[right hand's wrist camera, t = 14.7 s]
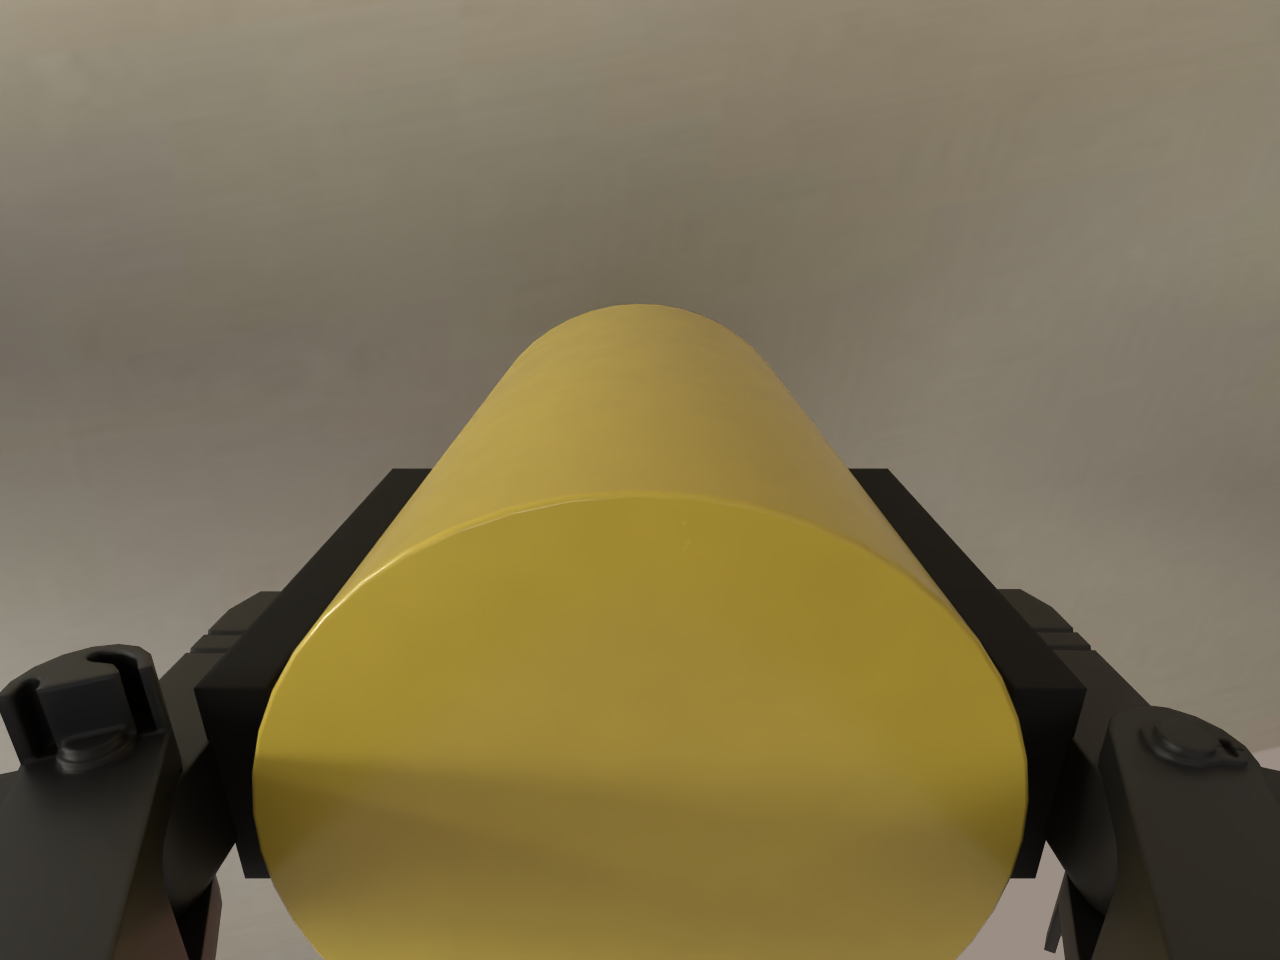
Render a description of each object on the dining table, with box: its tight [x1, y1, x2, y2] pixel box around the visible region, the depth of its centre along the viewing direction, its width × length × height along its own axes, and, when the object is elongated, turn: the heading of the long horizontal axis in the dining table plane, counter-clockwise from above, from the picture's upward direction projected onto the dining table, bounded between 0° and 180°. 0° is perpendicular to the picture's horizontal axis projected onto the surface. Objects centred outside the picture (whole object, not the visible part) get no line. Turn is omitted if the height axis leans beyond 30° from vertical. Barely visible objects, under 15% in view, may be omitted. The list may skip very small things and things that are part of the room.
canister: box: [252, 304, 1028, 960], centre depth 13 cm, size 8×8×11 cm
